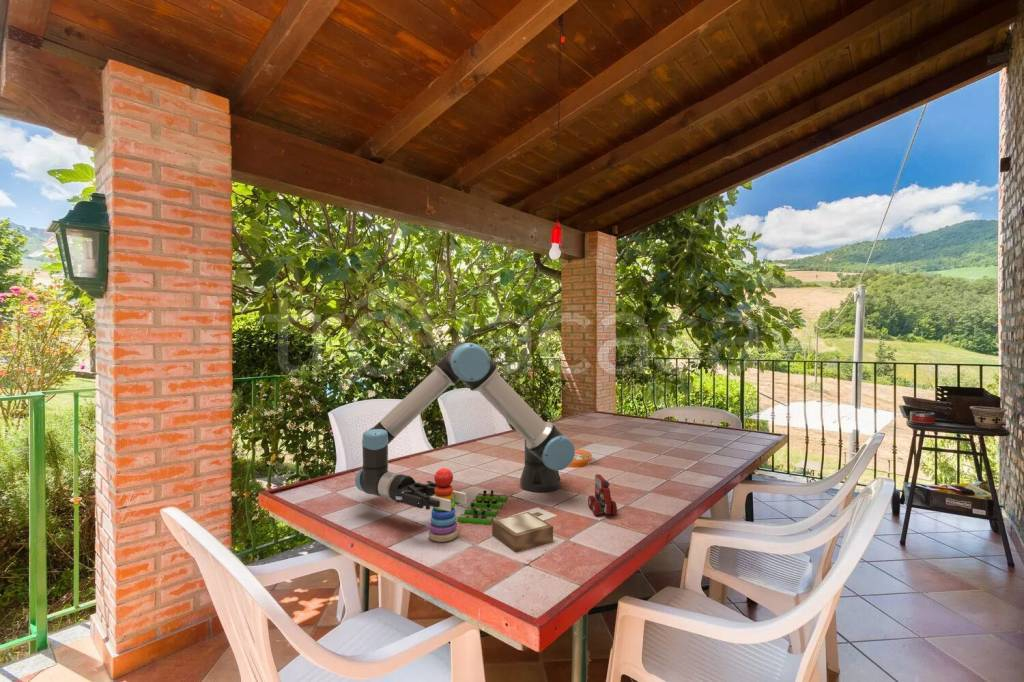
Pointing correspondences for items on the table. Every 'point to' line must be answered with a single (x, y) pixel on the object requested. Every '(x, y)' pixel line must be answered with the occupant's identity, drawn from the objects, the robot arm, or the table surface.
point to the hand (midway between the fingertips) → (458, 502)
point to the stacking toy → (442, 519)
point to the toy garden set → (482, 509)
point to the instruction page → (539, 513)
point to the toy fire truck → (602, 498)
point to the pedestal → (522, 531)
